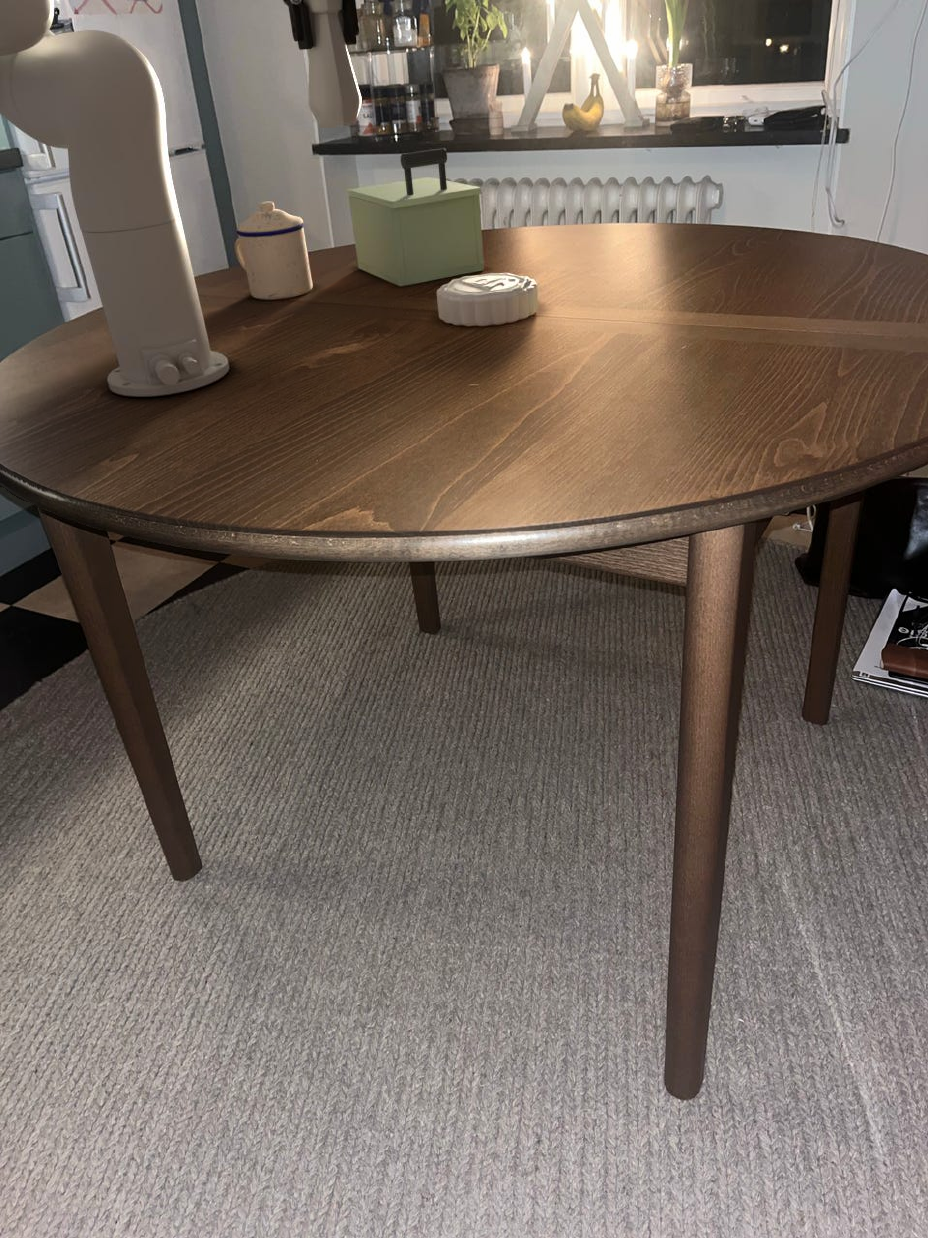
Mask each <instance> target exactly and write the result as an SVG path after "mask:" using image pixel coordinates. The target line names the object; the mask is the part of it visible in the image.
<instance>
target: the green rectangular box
mask: <svg viewBox="0 0 928 1238" xmlns="http://www.w3.org/2000/svg"><path fill="white" fill-rule="evenodd" d="M480 199H481V198H480V194H479V195H473V196H467V197H461V198H454V199H448V200H442V201H436V202H430V203H424V204H418V205H412V206H406V207H400V208H390V207H387V206H383V205H380V204H376V203H373V202H369V201H366V200H362V199H359V198H355V197H352V196H349V195H348V201H349V203H348V204H349V210H350V216H351V224H352V232H353V238H354V239H353V240H354V247H355V253H356V261H357V267H358V269H359V270H362V271H364V272H366V273H368V274H371V275H372V276H375V277H378V278H380V279H382V280H384V281H387V282H389V283H391V284H393V285H396V286H398V287H406V286H410V285H417V284H420V283H426V282H430V281H435V280H436V281H437V280H442V279H446V278H451V277H452V278H453V277H456V276H461V275H466V274H472V273H475V272H476V273H477V272H481V271H485V259H484V247H483V231H482V230H483V229H482V215H481V200H480Z"/></svg>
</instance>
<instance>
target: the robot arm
mask: <svg viewBox="0 0 928 1238" xmlns="http://www.w3.org/2000/svg"><path fill="white" fill-rule="evenodd" d="M282 1H283V4H284V5H285V6H287V7H288V13H289V20H290V27H291V33H292V39H293V41H294V42H297V46H298V50H299V51H305V50H309V49H312V47H313V38H312V31H311V24H310V17H309V10H308V6H307V5H306V4H304V2H303V0H282ZM54 3H55V2H54V0H0V115H1V116H2V117H4V118H5V119H6V120H7V121H8V122H10V123H11V124H12V125H13V126H14V127H16V128H17V129H18V130H20V131H21V132H22V133H24V134H25V135H27V136H28V137H30V138H31V139H33V140H34V141H37V142H38V143H41V144H43V145H45V146H47V147H48V146H49V147H51V148H52V147H53V148H56V149H65V150H67V157H68V172H69V174H68V175H69V184H70V192H71V196H72V197H71V198H72V202H73V207H74V211H75V215H76V219H77V222H78V226H79V230H80V232H81V235H82V238H83V242H84V245H85V249H86V253H87V255H88V260H89V263H90V266H91V270H92V274H93V277H94V280H95V284H96V287H97V288H96V289H97V291H98V296H99V298H100V302H101V306H102V309H103V313H104V317H105V320H106V323H107V327H108V330H109V334H110V338H111V341H112V344H113V349H114V351H115V355H116V359H117V362H118V367H116V368H114V369H113V370H112V371H111V372H110V373H109V374H108V376H107V377H106V378H107V379H106V380H107V384H108V387H109V390H110V391H111V392H113V393H114V394H117V395H119V396H124V397H134V398H149V397H152V398H153V397H163V396H171V395H175V394H181V393H184V392H188V391H189V392H190V391H192V390H196V389H199V388H202V387H205V386H208V385H211V384H212V383H215V382H217V381H219V380H220V379H221V378H223V377H224V376H225V375H226V374H227V373H228V372H229V370H230V364H229V359H228V358H227V357H226V355H224V354H223V353H220V352H217V351H212V350H211V347H210V342H209V338H208V337H209V336H208V333H207V328H206V325H205V320H204V315H203V310H202V306H201V302H200V297H199V293H198V289H197V285H196V284H197V283H196V281H195V276H194V275H195V274H194V271H193V266H192V263H191V262H192V261H191V258H190V257H191V256H190V253H189V249H188V245H187V239H186V236H185V232H184V231H185V230H184V228H183V223H182V217H181V215H180V211H179V206H178V201H177V197H176V192H175V187H174V183H173V178H172V172H171V167H170V166H171V165H170V159H169V150H168V138H167V136H168V135H167V122H166V120H167V119H166V109H165V107H166V106H165V101H164V95H163V91H162V90H163V89H162V87H161V84H160V80H159V78H158V76H157V74H156V72H155V69H154V67H153V66H152V64H151V63H150V62H149V61H150V60H148V59H147V57H146V56H145V55H144V53H142V52H141V50H140V49H139V48H137V47H136V46H135V44H133V43H131V42H130V41H128V40H127V39H125V38H124V37H121V36H120V35H117V34H115V33H112V32H108V31H106V30H105V31H104V30H97V29H85V30H76V31H69V32H63V33H58V34H55V33H54V32H53V31H52V30H51V27H52V24H53V21H54V17H55V4H54ZM342 4H343V6H342V10H340V11H339V12H337V15H338V19H339V23H340V26H341V29H342V33H343V36H344V40H345V43H346V46H355V45H357V44H358V39H357V36H359V35H360V26H359V19H358V9H357V3H356V0H342Z"/></svg>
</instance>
